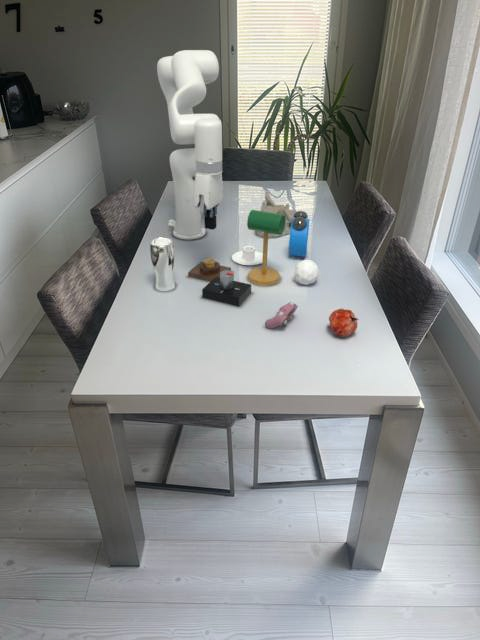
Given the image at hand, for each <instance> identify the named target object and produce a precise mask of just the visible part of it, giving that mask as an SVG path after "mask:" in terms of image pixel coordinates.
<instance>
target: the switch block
mask: <svg viewBox="0 0 480 640" xmlns="http://www.w3.org/2000/svg"><path fill="white" fill-rule="evenodd" d="M224 270H230V271H232V268H231V267H230V266H225V265H221V264H220V262H219V261H216V260H215V267H213V268H207V267H204V261H200V262H198V264H196V265H195V266H194V267H193V268H192V269H190V270H189V271H188V272H187V275H188V278H193V279H197V280H201V281H205V282H208V283H210V282H211V281H212V280H213V279H214V278H215V277H220V272H222V271H224Z"/></svg>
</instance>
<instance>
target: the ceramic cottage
mask: <svg viewBox="0 0 480 640" xmlns="http://www.w3.org/2000/svg"><path fill="white" fill-rule="evenodd" d="M264 192H265V193H264V200H263V201H262V204H261V207H260V211H264V212H270V213H276V214H282V215H285V218H286V222H285V228H284V231H283V233H282V235H276V234H271V233H268V239H269V238H270V239H271V238H278V237H283V236H284V235H285V236H286V235H287V234H290V230H291V222H292V218H295V217H294V214H295V213H296V212H297V210H296V209H290V203H288V202H287V203H286V204H285V205H284V204H283V203H282V204H275V202H274V200H273V199H272V197H271V196H270V193H269V190H265V191H264ZM255 235H257V236H258V237H260V238H264V232H260V231H255Z"/></svg>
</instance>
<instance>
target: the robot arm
mask: <svg viewBox="0 0 480 640" xmlns="http://www.w3.org/2000/svg"><path fill="white" fill-rule="evenodd" d="M219 72H220V65H219V60H218V57H217V55H216V54H215V52H214V51H211V50H208V49H184V50H179V51H177V52H176V53H174V54H173V55H169V56H168V55H167V56H163V57H161V58H160V59H159V60H158V61H157V64H156V73H157V78H158V83H159V85H160V88H161V91H162V93H163V95H164V98H165V101H166V104H167V113H168V122H169V131H170V136H171V140H172V142H173V143H174V144H176V145H181V146H182V145H185V146H186V145H194V147H189V148H179V149H176V150H175V149H174V150H173V151H172V152H170V155H169V166H170V172H171V176H172V177H171V178H172V182H173V183H172V184H173V194H174V209H175V219H169V220H168V227H169V228H170V227H171V228H173V230H172V235H173V236H174V237H175V238H177V239H179V240H184V241H185V240H186V241H191V240H198V239H201V238H203V237H205V235H206V232H207V231H206V230H212V231H214V230H215V229H216V228H217V215H218V206H220V203H221V202H222V201H223V200H224V199H223V198H224V183H223V124H222V120H221V119H220V117H219V116H218V115H217V114H215V113H194V111H193V108H194V107H196V106H198V105H199V104H200V103H202V102H203V101H204V100H205V98H206V96H207V85H209V84H211V83H214V82H215V81H216V80H217V79H218V77H219V74H220V73H219ZM193 178H194V179H193ZM202 215H203V217H204V218H203V219H204V226H202Z"/></svg>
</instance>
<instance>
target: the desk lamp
mask: <svg viewBox="0 0 480 640" xmlns="http://www.w3.org/2000/svg"><path fill="white" fill-rule="evenodd" d="M246 220H247V222H246V226H247V229H248V230H249V231H254V232H256V231H260V232H264V237H262V238H263V241H262V253H263V262H262V263H261V266H260V267H255V268H252V269H251V270H250V271H248V277H247V278H248V282H250V283H252V284H254V285H257V286H260V287H266V286H268V287H269V286H270V287H271V286H274V285H276V284H278V283H279V282H280V278H281V277H280V276H281V274H280V272H279V271H278V270H276V269H275V268H272V267H268V249H269V248H268V244H269V238H268V233H271V234H276V235H282V233H283V231H284V228H285V222H286V218H285V215H282V214H276V213H270V212H264V211H261V210H257V209H251V210H250V211H249V213H248V215H247V219H246ZM282 236H283V235H282Z"/></svg>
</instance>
